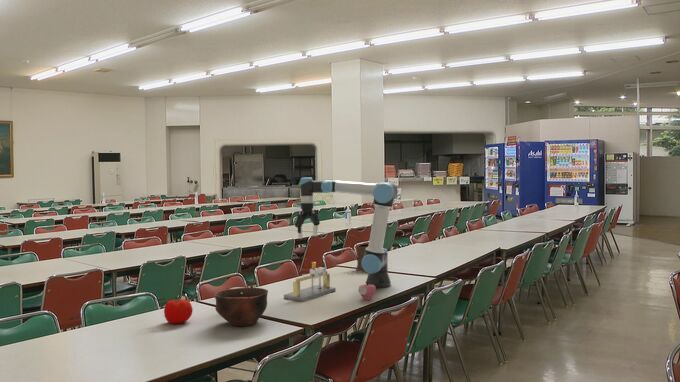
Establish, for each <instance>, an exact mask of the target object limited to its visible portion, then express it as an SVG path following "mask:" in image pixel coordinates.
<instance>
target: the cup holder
mask: <svg viewBox="0 0 680 382" xmlns="http://www.w3.org/2000/svg"><path fill="white" fill-rule="evenodd" d="M350 237H353V238H355V239H357V237H356V235H354V234H349V235H348V236H347V238H346V239H347V240H349V238H350ZM355 246H356V251H357V254H356V255H357V256H356V255H355V253H354V252H353V251H352V250H351V249H350V248H349V247H347V250H348V251H349V252H350V253H351V254H352V255H353V256H354V258H356V261H357V265H356V268H355V270H356V271H358V272H366V271H365V270H364V269H363V268H362V265H361V262H362V259H363V257H364V254H365V249H366V248H367V247H368V246H369V243H362V244H358V243H357V242H355ZM366 273H367V272H366Z"/></svg>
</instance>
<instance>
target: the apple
mask: <svg viewBox="0 0 680 382" xmlns="http://www.w3.org/2000/svg"><path fill="white" fill-rule="evenodd" d="M376 291H377V288H376V287H375V286H374V285H372V284H371V285H369V284H368V282H367V280H366V281H365V284H361V285H359V287H358V292H359V294H360V297H361V298H362V300H363V301H371V300H372V298H373V297H374V295H375V294H376Z"/></svg>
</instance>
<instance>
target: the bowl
mask: <svg viewBox="0 0 680 382" xmlns="http://www.w3.org/2000/svg"><path fill="white" fill-rule="evenodd" d="M241 292H242V294H241ZM268 293H269V290H268V289H266V288H262V287H261V288H260V287H244V288H237V289H231V288H229V289H224V290H220V291H219V290H218V291H217V292H215V293H214V294H213V296H214V299H215V306H214V307H215V311H216V313H217V314H218V315H219V317H222V318H223V319H224V320H225V321H227V322H228V324H229V323H230V324H231V325H232V326H235V327H249V326H252V325H254V324H256V323H258V320H259V319H260V318H261V317H262V315H263V314H264V312H265V311H266V309H267V307H268Z"/></svg>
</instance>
